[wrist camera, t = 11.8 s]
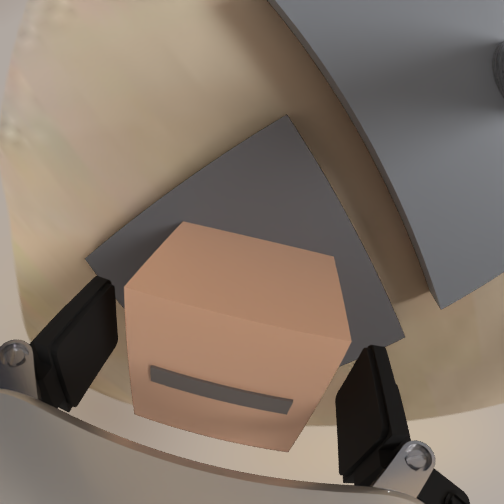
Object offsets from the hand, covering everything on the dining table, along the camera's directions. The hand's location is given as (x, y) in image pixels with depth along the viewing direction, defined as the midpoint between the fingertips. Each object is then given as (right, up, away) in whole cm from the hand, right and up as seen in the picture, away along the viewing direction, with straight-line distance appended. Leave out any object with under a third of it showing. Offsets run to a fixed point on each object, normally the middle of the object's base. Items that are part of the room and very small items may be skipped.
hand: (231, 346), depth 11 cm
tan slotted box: (0, +1, +3) cm, 3 cm away
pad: (0, +2, +3) cm, 4 cm away
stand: (+11, +11, -2) cm, 16 cm away
